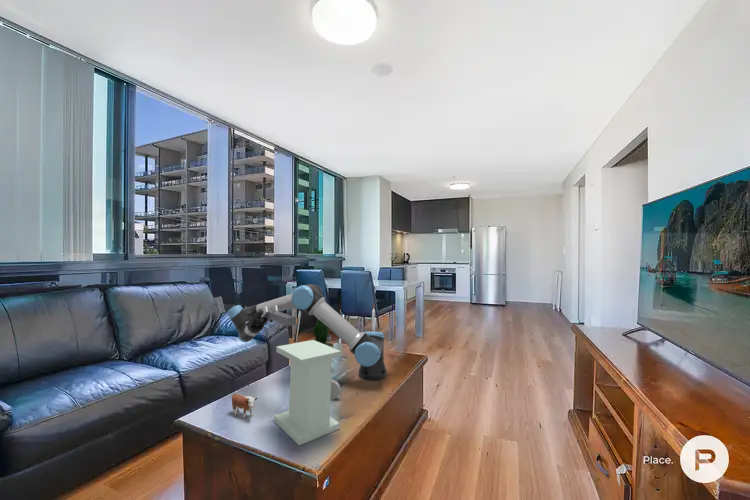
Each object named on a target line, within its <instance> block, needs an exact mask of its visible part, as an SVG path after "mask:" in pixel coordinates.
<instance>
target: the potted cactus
mask: <svg viewBox="0 0 750 500" xmlns="http://www.w3.org/2000/svg"><path fill="white" fill-rule="evenodd" d="M329 333H330V331H329V328H328V327H327V326H326V325H324V324H323V323H322V322H321V321H320V320H319V319H317V321H316V322H314V325H313V336H315V337H314V340H315V341H317V342H320V343H322V344H325V345H327V346H329V347H332V348H334V349H335V343H333V342H331V341H330V342H326V341H327V340H328V339H327V336H328V335H327V334H329ZM332 361H333V359H331V364H333V363H332Z"/></svg>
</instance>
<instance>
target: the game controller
mask: <svg viewBox="0 0 750 500" xmlns="http://www.w3.org/2000/svg"><path fill="white" fill-rule="evenodd" d="M341 391H342V389H341V385H340V384H339V382H338V381H336V380H334V379H331V395H330V401H333V400H336V399H338V397H339V395H341Z"/></svg>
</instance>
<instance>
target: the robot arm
mask: <svg viewBox="0 0 750 500" xmlns="http://www.w3.org/2000/svg"><path fill="white" fill-rule="evenodd" d="M325 299H326V298H325V296H324V295H323V290H322V288H321V287H320V286H319V285H317V284H314V283H310V284H304V285H303V284H302V285H299V286H298V287H295V289H294V290H293V291H292V293H289V294H287V295H283V296H280V297H278V298H274V299H271V300H268V301H267V300H266V301H264V302H262V303H258V304H254V305H251V306H248V307H244V308H243V307H242V306H241V304H238V305H235V306H233V307H231V308H230V309H228V311H227V316H228V317H229V319H230V321H231V322H232V324H233V326H234V327H235V329H236V330H237V332H238V339H239V341H240V342H242V343H249V342H251V341H252V340H253V339H254V338H255V337H256V336H257V335H258V334H259V333H260V332H262V330H263V329H264V327H265V325H267V324H268V323H273V322H274V321H273V320H271V319H268V318H266V317H263V316H264V315H265V314H266V313H267V312H268V309H267V308H269V309H272V310H275V311H278V312H283V311H286V310H289V309H292V308H296V309H298V310H299V311H304V312H305V313H306V314H307V315H308V316H313V315H314V317H315V318H317V320H320V321H321V322H322V323H323V324H324V325H326V326H327V327H328V330H330V331H331V332H332V333H334V335H336V336H337V337H338V338H339V339H340V340H341V341H343V342H344V343H345V344H346V345H347V346H348V347H349V349H348V350H349V352H350V353H351V354H353V356H354V358H355V360H356V362H357V364H359V367H358V377H359V378H361V379H364V380H367V381H379V380H383V379H385V378H387V368H386V365H385V362H384V361H385V360H384V359H385V358H384V357H385V355H384V354H385V352H384V350H385V347H384V346H385V334H384V333H383V332H382V331H376V330H375V331H372V330H371V331H370V330H369V331H362V332H360V331H359V330H358V329H357V328H356V327H355V326H353V324H351V323H350V322H349V321H348V320H346V319H345V318H344V316H342V315H340V313H339V312H337V310H334V308H333V307H332V306H331V305H329V304H328V303H327V302H326V300H325ZM262 308H263V309H262ZM259 309H262V310H261V311H260V312H259Z"/></svg>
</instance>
